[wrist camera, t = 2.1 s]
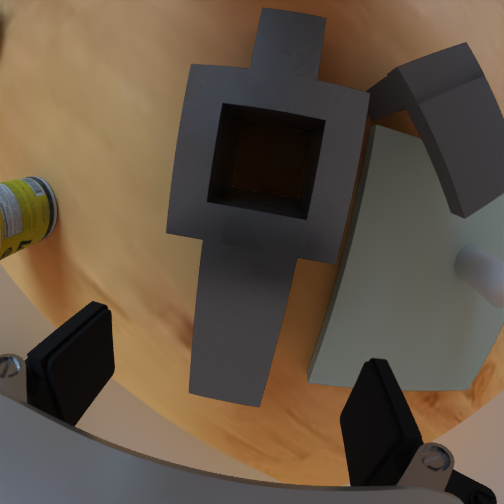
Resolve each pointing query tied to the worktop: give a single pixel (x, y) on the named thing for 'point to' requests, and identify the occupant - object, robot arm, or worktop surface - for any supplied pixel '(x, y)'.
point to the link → (259, 197)
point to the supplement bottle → (25, 213)
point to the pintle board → (423, 234)
